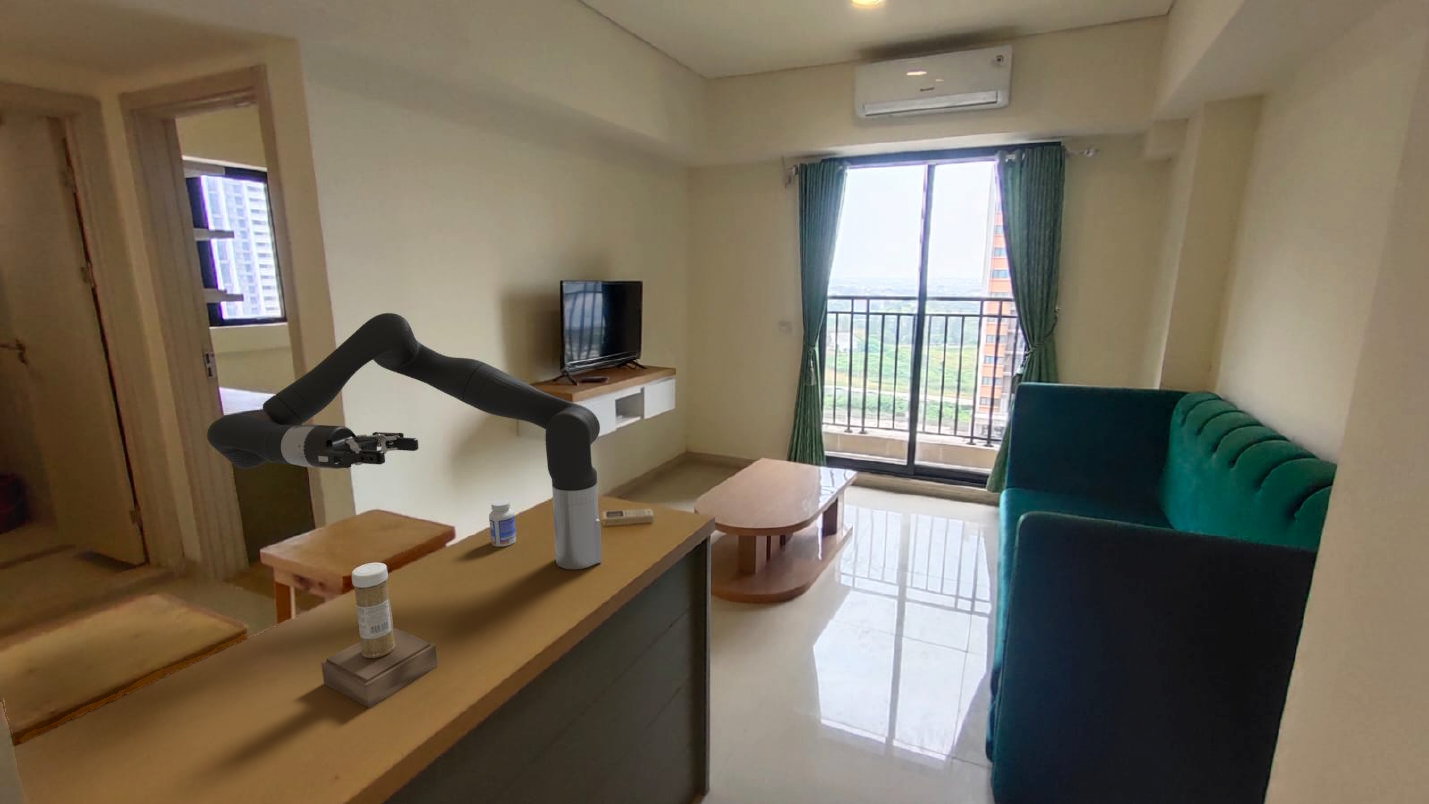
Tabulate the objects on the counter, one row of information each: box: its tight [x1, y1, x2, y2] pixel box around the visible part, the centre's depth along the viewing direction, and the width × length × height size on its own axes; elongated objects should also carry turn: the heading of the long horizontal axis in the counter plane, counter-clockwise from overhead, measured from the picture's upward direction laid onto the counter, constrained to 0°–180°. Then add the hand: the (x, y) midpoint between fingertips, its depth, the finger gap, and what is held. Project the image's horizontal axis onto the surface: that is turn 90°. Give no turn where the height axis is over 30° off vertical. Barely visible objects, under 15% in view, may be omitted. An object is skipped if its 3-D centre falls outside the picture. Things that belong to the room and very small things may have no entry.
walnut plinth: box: [320, 626, 438, 709], centre depth 93 cm, size 11×11×4 cm
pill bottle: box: [488, 499, 517, 548], centre depth 140 cm, size 5×5×10 cm
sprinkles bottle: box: [351, 562, 395, 658], centre depth 91 cm, size 5×5×13 cm
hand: (400, 450), depth 106 cm, fingers open, 8 cm apart
